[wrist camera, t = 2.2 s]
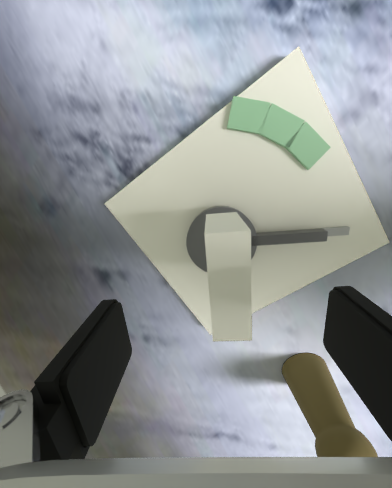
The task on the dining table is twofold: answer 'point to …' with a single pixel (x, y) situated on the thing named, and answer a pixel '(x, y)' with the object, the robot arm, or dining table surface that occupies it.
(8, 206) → the dining table surface
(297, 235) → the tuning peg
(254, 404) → the dining table surface
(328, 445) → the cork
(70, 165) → the dining table surface
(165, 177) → the dial board
